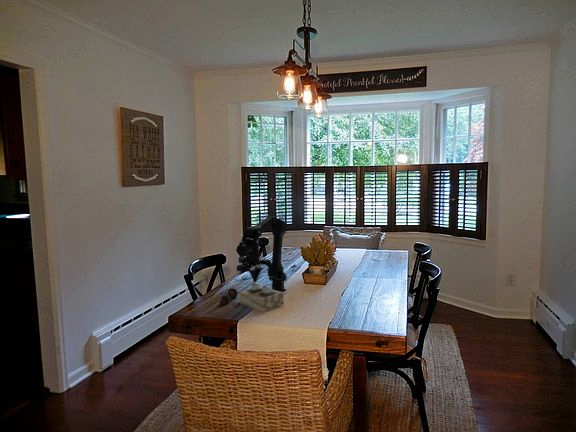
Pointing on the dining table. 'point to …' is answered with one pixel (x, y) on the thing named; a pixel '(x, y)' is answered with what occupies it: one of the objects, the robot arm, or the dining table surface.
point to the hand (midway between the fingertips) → (255, 281)
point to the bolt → (228, 296)
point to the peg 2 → (266, 290)
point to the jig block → (261, 299)
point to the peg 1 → (255, 286)
